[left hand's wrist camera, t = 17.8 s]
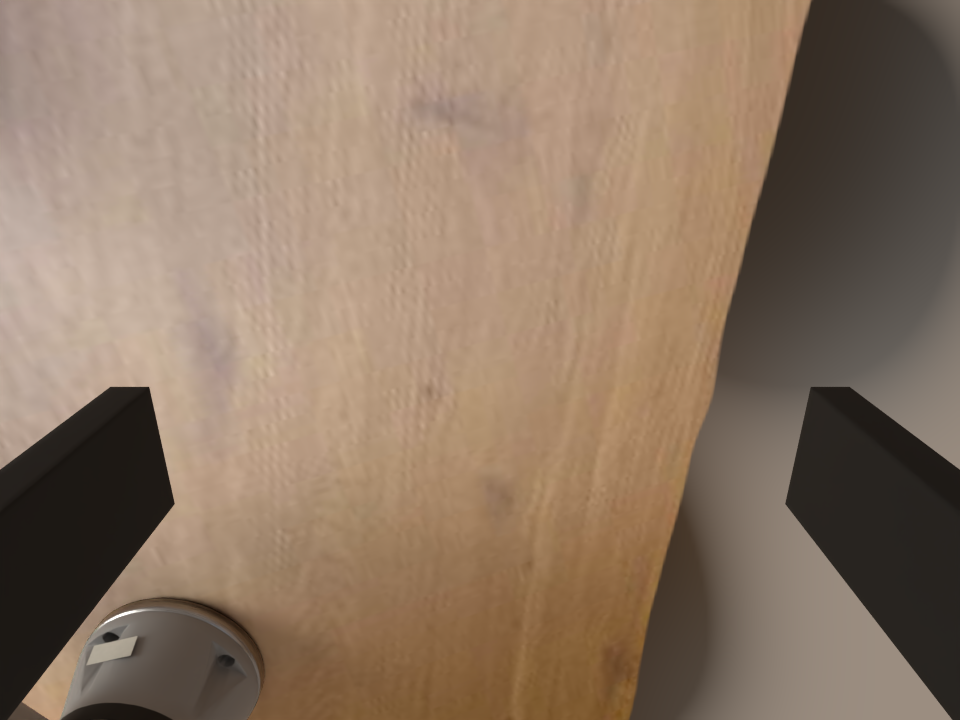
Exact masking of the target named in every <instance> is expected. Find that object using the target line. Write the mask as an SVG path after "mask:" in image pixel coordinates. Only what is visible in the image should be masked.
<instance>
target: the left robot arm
mask: <svg viewBox="0 0 960 720" xmlns="http://www.w3.org/2000/svg"><path fill="white" fill-rule="evenodd" d="M174 504H175V503H174V499H173V494H172V490H171V485H170V480H169V476H168V471H167V467H166V462H165V458H164V453H163V448H162V444H161V439H160V435H159V430H158V425H157V421H156V416H155V412H154V407H153V403H152V398H151V393H150V389H149V387H110V388H108V389H107V390H106V391H104V392H103V393H102V394H101V395H99V396H98V397H97V398H95V399H94V400H93V401H91V402H90V403H89V404H87V405H86V406H85V407H83V408H82V409H81V410H79V411H78V412H77V413H75V414H74V415H73V416H71V417H70V418H69V419H67V420H66V421H65V422H63V423H62V424H61V425H59V426H58V427H57V428H55V429H54V430H53V431H51V432H50V433H49V434H47V435H46V436H45V437H43V438H42V439H41V440H39V441H38V442H37V443H35V444H34V445H33V446H31V447H30V448H29V449H27V450H26V451H25V452H23V453H22V454H21V455H19V456H18V457H17V458H15V459H14V460H13V461H11V462H10V463H9V464H7V465H6V466H5V467H3V468H2V469H1V470H0V720H48V719H47V718H45V717H44V716H42V715H41V714H39V713H38V712H36V711H34V710H33V709H31V708H30V707H28V706H27V705H25V704H24V703H22V700H23V699H24V698H25V697H26V695H27V694H28V693H29V691H30V690H31V689H32V687H33V686H34V685H35V684H36V682H37V681H38V680H39V678H40V677H41V676H42V675H43V673H44V672H45V671H46V669H47V668H48V667H49V666H50V664H51V663H52V662H53V660H54V659H55V658H56V656H57V655H58V654H59V653H60V651H61V650H62V649H63V647H64V646H65V645H66V644H67V642H68V641H69V640H70V638H71V637H72V636H73V635H74V633H75V632H76V631H77V629H78V628H79V627H80V625H81V624H82V623H83V622H84V620H85V619H86V618H87V616H88V615H89V614H90V613H91V611H92V610H93V609H94V607H95V606H96V605H97V604H98V602H99V601H100V600H101V598H102V597H103V596H104V594H105V593H106V592H107V591H108V589H109V588H110V587H111V585H112V584H113V583H114V582H115V580H116V579H117V578H118V576H119V575H120V574H121V573H122V571H123V570H124V569H125V567H126V566H127V565H128V563H129V562H130V561H131V560H132V558H133V557H134V556H135V554H136V553H137V552H138V551H139V549H140V548H141V547H142V545H143V544H144V543H145V542H146V540H147V539H148V538H149V536H150V535H151V534H152V532H153V531H154V530H155V529H156V527H157V526H158V525H159V523H160V522H161V521H162V520H163V518H164V517H165V516H166V514H167V513H168V512H169V511H170V509H171V508H172V507H173V505H174ZM786 505H787V507H788V508H789V509H790V511H791V512H792V513H793V514H794V516H795V517H796V518H797V520H798V521H799V522H800V523H801V525H802V526H803V527H804V529H805V530H806V531H807V532H808V534H809V535H810V536H811V538H812V539H813V540H814V541H815V543H816V544H817V545H818V547H819V548H820V549H821V551H822V552H823V553H824V554H825V556H826V557H827V558H828V560H829V561H830V562H831V563H832V565H833V566H834V567H835V569H836V570H837V571H838V572H839V574H840V575H841V576H842V578H843V579H844V580H845V582H846V583H847V584H848V585H849V587H850V588H851V589H852V591H853V592H854V593H855V594H856V596H857V597H858V598H859V600H860V601H861V602H862V603H863V605H864V606H865V607H866V609H867V610H868V611H869V613H870V614H871V615H872V616H873V618H874V619H875V620H876V622H877V623H878V624H879V625H880V627H881V628H882V629H883V631H884V632H885V633H886V634H887V636H888V637H889V638H890V640H891V641H892V642H893V644H894V645H895V646H896V647H897V649H898V650H899V651H900V653H901V654H902V655H903V656H904V658H905V659H906V660H907V662H908V663H909V664H910V666H911V667H912V668H913V669H914V671H915V672H916V673H917V674H918V676H919V677H920V678H921V680H922V681H923V682H924V684H925V685H926V686H927V687H928V689H929V690H930V691H931V693H932V694H933V695H934V697H935V698H936V699H937V700H938V702H939V703H940V704H941V706H942V707H943V708H944V709H945V711H946V712H947V713H948V715H949V716H950V717H951V718H952V720H960V470H959V469H958V468H957V467H955V466H954V465H953V464H951V463H950V462H949V461H947V460H946V459H945V458H943V457H942V456H941V455H939V454H938V453H937V452H935V451H934V450H933V449H931V448H930V447H929V446H927V445H926V444H925V443H923V442H922V441H921V440H919V439H918V438H917V437H915V436H914V435H913V434H911V433H910V432H909V431H907V430H906V429H905V428H903V427H902V426H901V425H899V424H898V423H897V422H895V421H894V420H893V419H891V418H890V417H889V416H887V415H886V414H885V413H883V412H882V411H881V410H879V409H878V408H877V407H875V406H874V405H873V404H871V403H870V402H869V401H867V400H866V399H865V398H863V397H862V396H861V395H859V394H858V393H857V392H855V391H854V390H853V389H851V388H850V387H811V389H810V394H809V398H808V403H807V407H806V412H805V416H804V421H803V426H802V430H801V435H800V439H799V444H798V449H797V453H796V458H795V462H794V467H793V471H792V476H791V480H790V485H789V490H788V494H787V499H786ZM263 683H264V664H263V661H262V657H261V655H260V652H259V650H258V648H257V647H256V645H255V643H254V642H253V641H252V639H251V638H250V637H249V636H248V634H247V633H246V632H245V631H244V630H243V629H242V628H241V627H240V626H238V625H237V624H236V623H235V622H233V621H232V620H230V619H229V618H227V617H226V616H224V615H222V614H221V613H219V612H217V611H215V610H213V609H210V608H208V607H205V606H203V605H199V604H196V603H193V602H188V601H184V600H178V599H164V598H158V599H147V600H140V601H136V602H133V603H130V604H127V605H124V606H122V607H120V608H118V609H116V610H114V611H113V612H111V613H110V614H109V615H107V616H106V617H105V618H104V619H103V620H102V621H101V622H100V624H99V625H98V626H97V628H96V629H95V630H94V632H93V633H92V634H91V636H90V637H89V639H88V640H87V642H86V644H85V646H84V648H83V650H82V652H81V654H80V656H79V660H78V663H77V666H76V669H75V673H74V676H73V679H72V682H71V686H70V689H69V692H68V696H67V699H66V702H65V705H64V709H63V712H62V715H61V718H60V720H247V719H248V717H249V716H250V714H251V712H252V711H253V709H254V707H255V705H256V703H257V700H258V698H259V695H260V692H261V690H262V687H263Z"/></svg>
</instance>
